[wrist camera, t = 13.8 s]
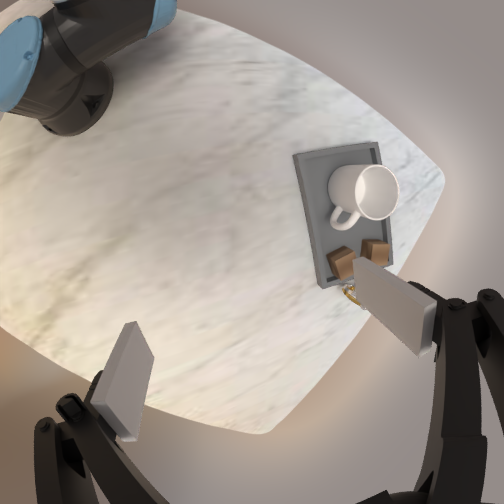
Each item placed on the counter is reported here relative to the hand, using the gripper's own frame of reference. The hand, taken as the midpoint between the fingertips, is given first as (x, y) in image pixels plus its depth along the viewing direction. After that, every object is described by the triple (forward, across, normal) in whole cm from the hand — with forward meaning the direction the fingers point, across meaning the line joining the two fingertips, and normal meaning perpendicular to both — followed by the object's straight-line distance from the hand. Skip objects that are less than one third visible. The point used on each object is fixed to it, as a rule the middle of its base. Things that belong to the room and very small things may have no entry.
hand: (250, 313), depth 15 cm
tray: (+32, +22, -4) cm, 39 cm away
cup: (+31, +21, -1) cm, 38 cm away
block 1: (+31, +18, -12) cm, 38 cm away
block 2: (+31, +26, -12) cm, 42 cm away
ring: (+32, +21, -19) cm, 43 cm away
